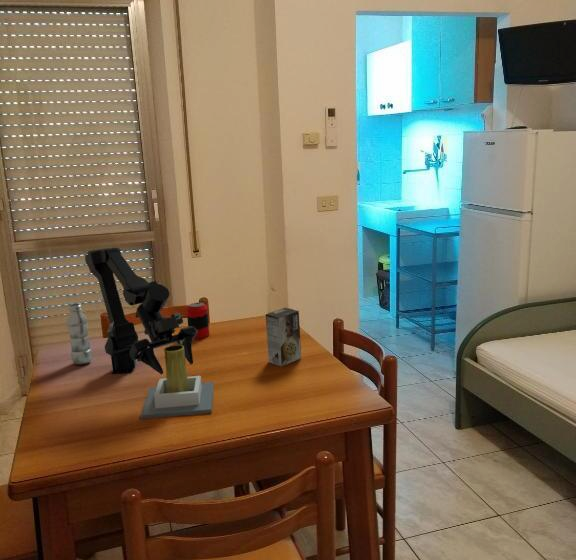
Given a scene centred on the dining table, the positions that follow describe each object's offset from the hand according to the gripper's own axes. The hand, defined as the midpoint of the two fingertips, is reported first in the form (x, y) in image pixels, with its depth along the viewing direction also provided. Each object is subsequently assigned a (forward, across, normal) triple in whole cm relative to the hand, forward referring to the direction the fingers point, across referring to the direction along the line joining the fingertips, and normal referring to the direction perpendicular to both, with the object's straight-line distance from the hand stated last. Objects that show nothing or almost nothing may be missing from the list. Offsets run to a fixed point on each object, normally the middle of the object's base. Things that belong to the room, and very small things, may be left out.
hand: (177, 368), depth 149 cm
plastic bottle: (-28, -6, +43) cm, 52 cm away
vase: (+6, 0, +7) cm, 9 cm away
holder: (+6, 0, +7) cm, 10 cm away
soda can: (-24, +35, +38) cm, 57 cm away
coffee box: (+6, +39, +8) cm, 40 cm away
